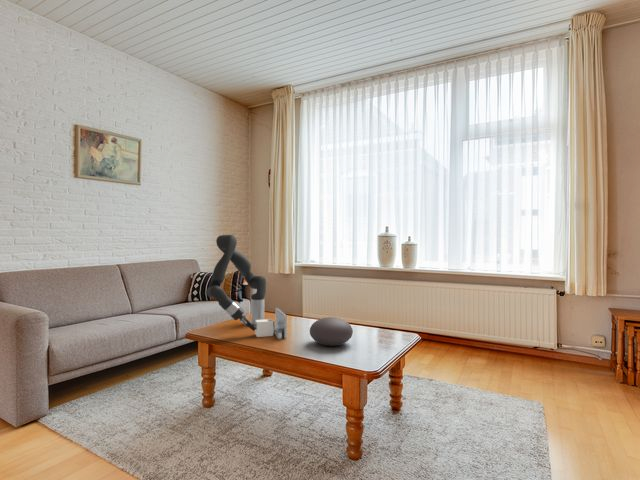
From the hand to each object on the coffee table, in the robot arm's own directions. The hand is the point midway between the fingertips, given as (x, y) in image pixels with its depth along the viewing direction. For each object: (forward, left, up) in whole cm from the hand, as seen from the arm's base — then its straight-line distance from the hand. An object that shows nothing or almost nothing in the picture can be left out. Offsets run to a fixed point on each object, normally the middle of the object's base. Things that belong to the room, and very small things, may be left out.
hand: (254, 329), depth 220 cm
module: (0, +6, -4) cm, 7 cm away
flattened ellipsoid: (+30, +38, -4) cm, 49 cm away
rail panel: (0, +15, -4) cm, 15 cm away
